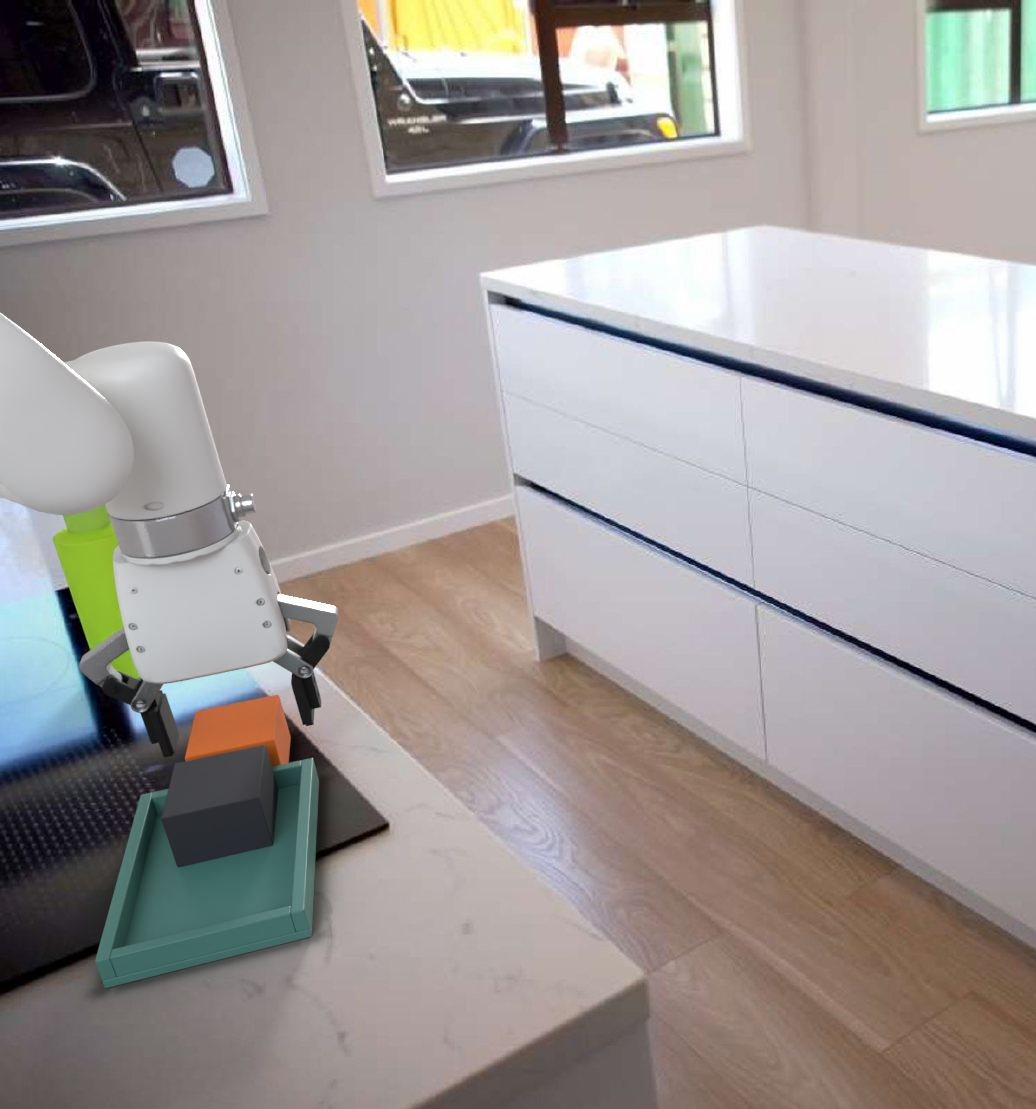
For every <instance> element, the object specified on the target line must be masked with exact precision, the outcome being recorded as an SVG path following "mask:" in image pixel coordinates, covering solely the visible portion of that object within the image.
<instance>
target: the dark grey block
mask: <svg viewBox="0 0 1036 1109" xmlns="http://www.w3.org/2000/svg"><path fill="white" fill-rule="evenodd" d="M167 789H168V793H167V797H166V801H165V805H164V810H163V814H162V818H161V820H162V823H163V826H164V829H165V832H166V835H167V838H168V841H169V844H170V847H171V850H172V853H173V856H174V859H175V862H176V865H177V867H182V866H187V865H191V864H195V863H200V862H204V861H208V860H213V859H217V858H221V857H225V856H230V855H234V854H238V853H243V852H247V851H251V850H256V849H260V848H264V847H269V846H272V845H273V840H274V830H275V820H276V810H277V800H278V787H277V783H276V780H275V776H274V773H273V769H272V766H271V762H270V759H269V755H268V752H267V748H266V745H261V746H256V747H251V748H246V749H242V750H237V751H232V752H227V753H223V754H218V755H213V756H208V757H204V758H199V759H194V760H189V761H180V762H175V763H174V764H173V768H172V773H171V777H170V781H169V785H168V788H167Z"/></svg>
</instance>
